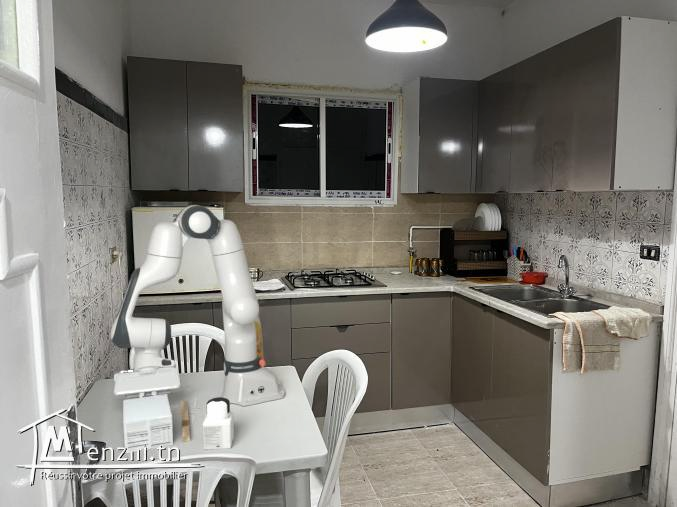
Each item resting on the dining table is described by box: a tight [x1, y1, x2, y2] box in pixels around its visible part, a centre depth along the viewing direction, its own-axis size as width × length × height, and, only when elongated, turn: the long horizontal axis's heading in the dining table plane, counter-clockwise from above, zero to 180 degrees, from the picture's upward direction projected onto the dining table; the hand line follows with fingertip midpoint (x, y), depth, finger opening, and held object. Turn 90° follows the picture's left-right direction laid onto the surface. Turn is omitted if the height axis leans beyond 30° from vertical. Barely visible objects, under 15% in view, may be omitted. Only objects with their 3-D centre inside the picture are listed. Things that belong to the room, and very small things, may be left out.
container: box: [202, 396, 235, 450], centre depth 145 cm, size 8×8×13 cm
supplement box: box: [122, 393, 174, 454], centre depth 149 cm, size 17×13×9 cm
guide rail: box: [180, 400, 191, 443], centre depth 159 cm, size 2×26×2 cm, turn 18°
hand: (148, 407), depth 158 cm, fingers closed
